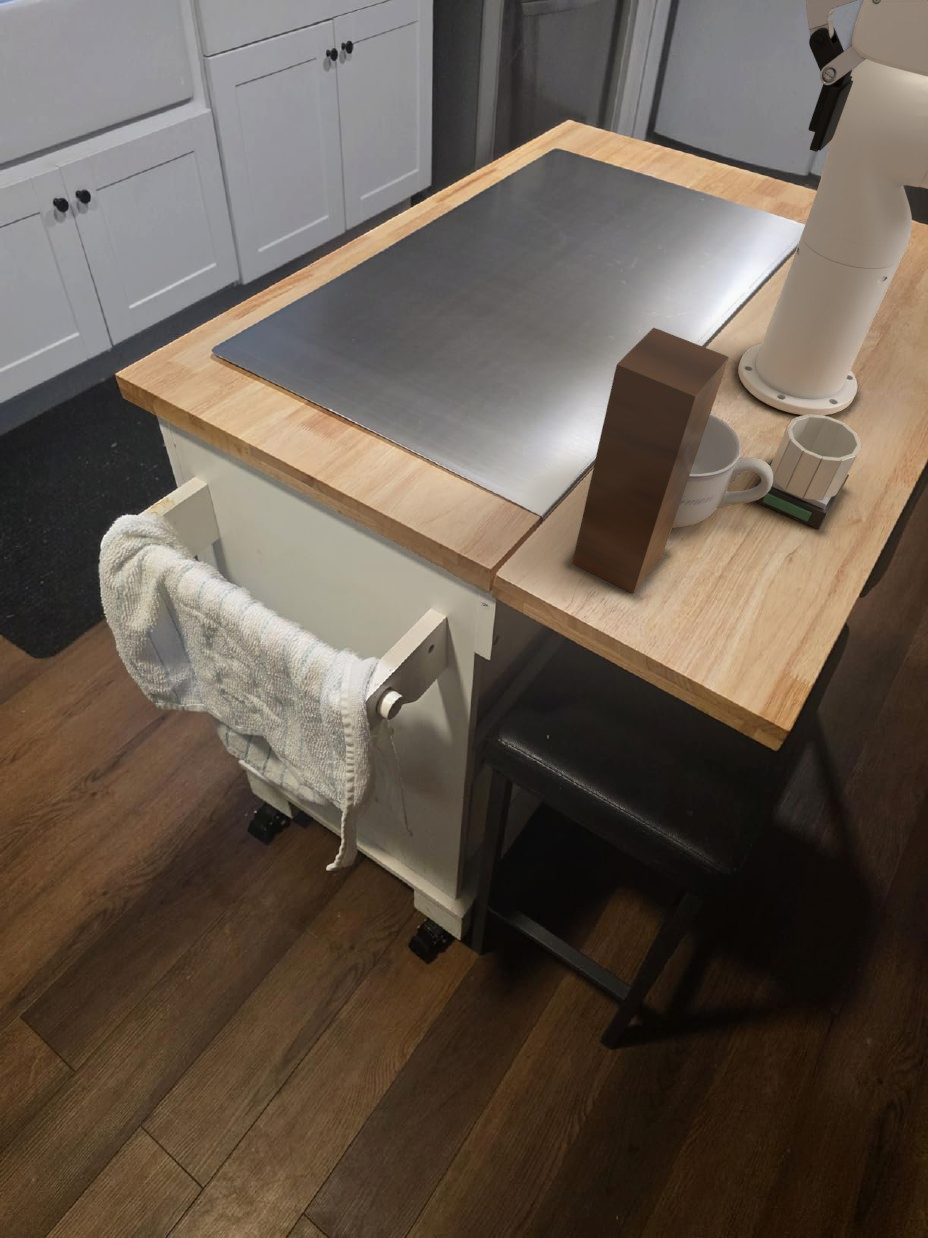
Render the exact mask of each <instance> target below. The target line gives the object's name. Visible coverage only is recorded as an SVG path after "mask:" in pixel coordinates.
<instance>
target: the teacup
mask: <svg viewBox="0 0 928 1238" xmlns="http://www.w3.org/2000/svg"><path fill="white" fill-rule="evenodd" d="M742 450H743V447H742V443H741V439H740V437H739V435H738V433H737V432H736V431H735V429H734V428H733V427H732V426H731V425H730V424H728V423H727V422H726V421H724V419H722V418H720V417H719V416H717V415H715V414H713V413H710V416H709V419H708V422H707V425H706V428H705V431H704V434H703V437H702V440H701V443H700V446H699V449H698V452H697V454H696V457H695V460H694V463H693V466H692V469H691V472H690V475H689V478H688V481H687V484H686V487H685V490H684V493H683V496H682V499H681V502H680V505H679V508H678V511H677V514H676V517H675V520H674V523H673V526H672V529H674V528H675V529H677V528H681V527H687V526H692V525H696V524H698V523H700V522H702V521H704V520H706V519H708V518H709V517H710V516H711V515H713V513H714V512H715V511H716V510H717V509H718V510H724V509H726V508H727V507H729V506H734V505H742V504H749V503H752V502H755V500H758V499H760V498H762V497H763V496H765V495H766V494H767V493H768V492H769V490H770V489H771V486H772V484H773V472H772V469H771V467H770V466H769V464H768V462H766V461H765V460H764V459H761V458H758V457H744V458H741V457H742ZM747 472H753V473H755V474H756V475H758V476H759V478H760V477H761V480H762V481H761V483H760V484H759V485H758V486H756V485H755V486H756V487H755V486H754V487H752V488H749V489H745V490H739V491H728V488H729V485H730V483H732V482H734V481H735V480H736V479H737V478H738V477H739V476H740V475H741V474H743V473H747Z"/></svg>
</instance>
